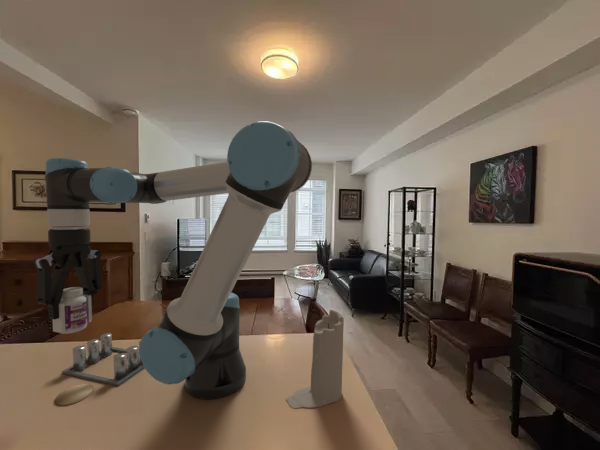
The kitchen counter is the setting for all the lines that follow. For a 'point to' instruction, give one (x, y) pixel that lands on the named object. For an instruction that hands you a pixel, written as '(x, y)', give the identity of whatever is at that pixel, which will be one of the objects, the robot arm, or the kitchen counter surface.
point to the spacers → (106, 350)
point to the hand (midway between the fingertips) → (73, 325)
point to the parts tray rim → (103, 379)
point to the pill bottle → (74, 309)
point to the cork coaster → (74, 394)
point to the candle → (324, 365)
